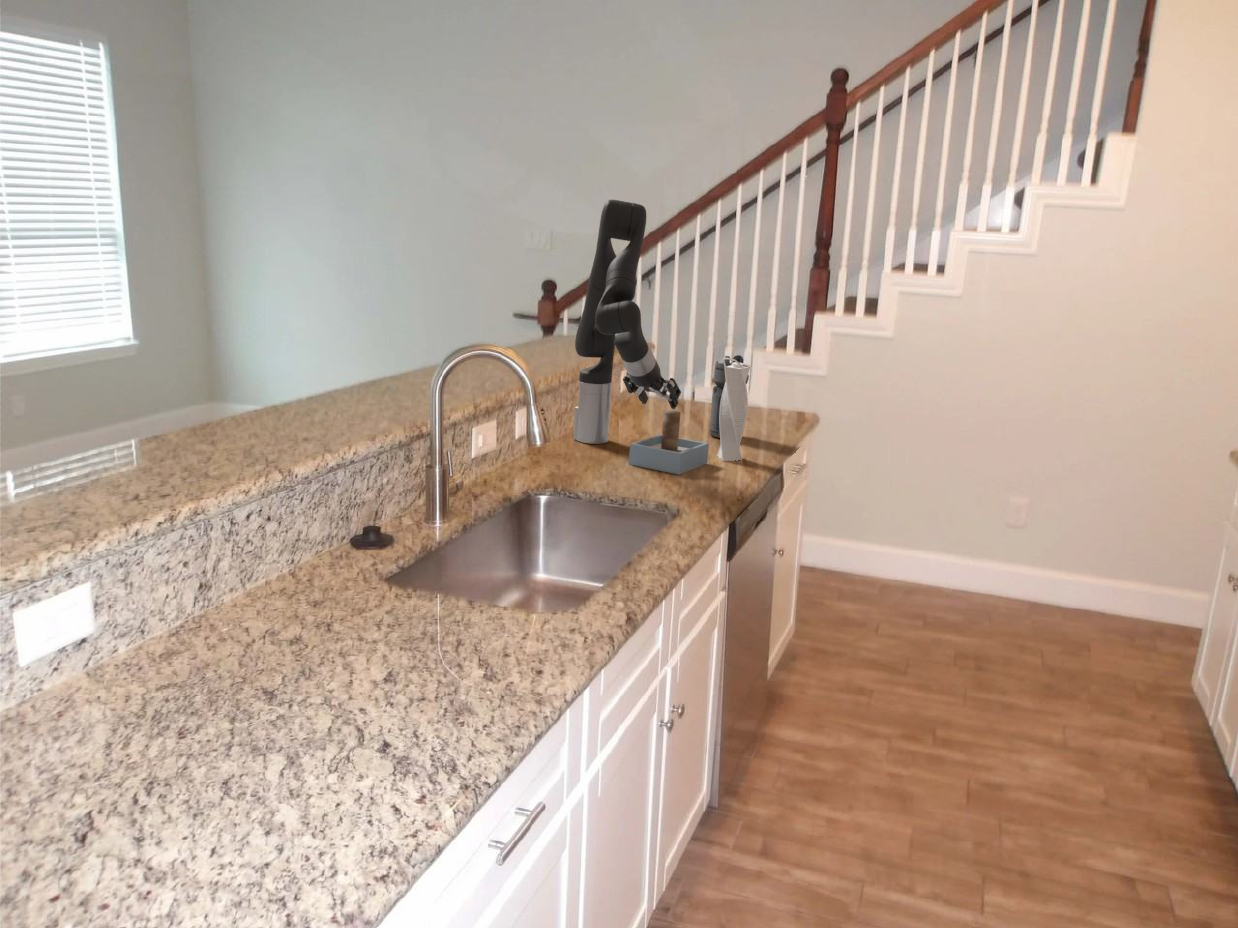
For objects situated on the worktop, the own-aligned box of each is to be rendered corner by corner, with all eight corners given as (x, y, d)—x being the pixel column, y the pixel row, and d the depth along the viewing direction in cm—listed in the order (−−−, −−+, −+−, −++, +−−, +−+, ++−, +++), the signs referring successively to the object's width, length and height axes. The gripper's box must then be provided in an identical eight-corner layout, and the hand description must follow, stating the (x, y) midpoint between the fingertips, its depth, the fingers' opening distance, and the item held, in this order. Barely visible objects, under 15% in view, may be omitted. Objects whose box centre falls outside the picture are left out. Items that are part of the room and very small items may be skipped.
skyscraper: (719, 462, 263) (728, 359, 256) (710, 455, 270) (718, 355, 263) (747, 462, 265) (756, 360, 258) (736, 455, 272) (745, 355, 265)
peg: (657, 464, 257) (660, 412, 254) (665, 461, 261) (668, 409, 258) (671, 466, 255) (675, 414, 252) (679, 463, 259) (683, 412, 256)
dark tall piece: (749, 435, 299) (757, 354, 293) (734, 442, 288) (742, 358, 282) (718, 430, 304) (725, 350, 298) (703, 437, 292) (709, 354, 286)
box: (628, 464, 255) (630, 443, 254) (658, 453, 269) (660, 434, 267) (679, 474, 248) (680, 453, 247) (707, 463, 261) (708, 443, 260)
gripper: (672, 355, 234) (690, 396, 246) (621, 348, 241) (641, 388, 253) (660, 379, 231) (679, 419, 243) (609, 371, 238) (630, 411, 250)
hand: (660, 403), depth 248 cm, fingers open, 8 cm apart
